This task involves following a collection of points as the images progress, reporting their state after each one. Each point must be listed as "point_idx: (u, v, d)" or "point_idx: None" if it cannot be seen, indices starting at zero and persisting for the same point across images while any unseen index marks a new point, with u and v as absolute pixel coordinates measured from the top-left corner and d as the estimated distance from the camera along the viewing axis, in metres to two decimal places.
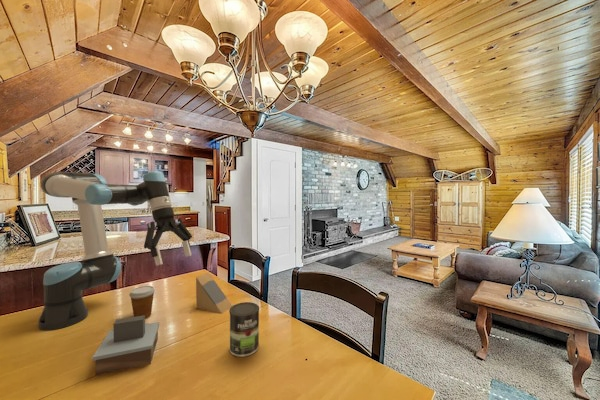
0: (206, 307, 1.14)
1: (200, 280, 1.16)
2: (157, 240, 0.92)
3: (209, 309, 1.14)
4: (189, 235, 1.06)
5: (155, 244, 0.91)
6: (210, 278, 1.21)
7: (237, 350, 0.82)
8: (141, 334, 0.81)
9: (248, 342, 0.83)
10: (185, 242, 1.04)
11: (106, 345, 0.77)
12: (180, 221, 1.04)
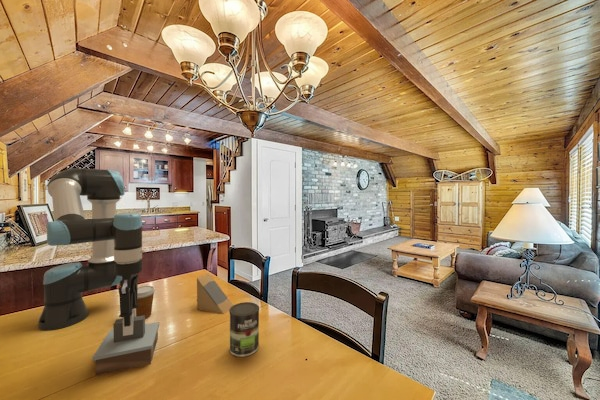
0: (207, 308, 1.13)
1: (201, 281, 1.15)
2: (131, 305, 0.79)
3: (210, 310, 1.13)
4: (136, 299, 0.85)
5: (131, 311, 0.79)
6: (210, 279, 1.20)
7: (237, 350, 0.82)
8: (141, 334, 0.81)
9: (248, 342, 0.83)
10: (133, 311, 0.82)
11: (106, 345, 0.77)
12: (137, 278, 0.86)
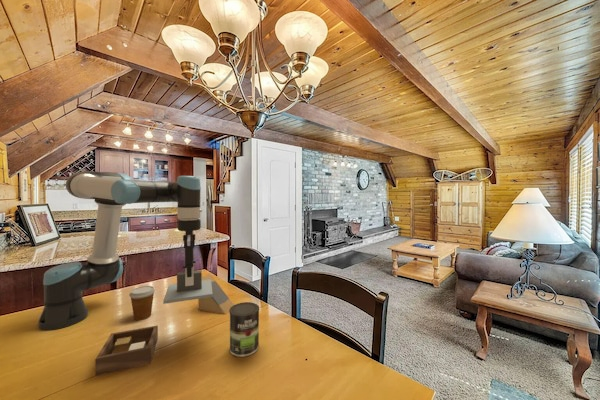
0: (209, 308, 1.13)
1: None
2: None
3: (212, 310, 1.12)
4: None
5: None
6: (211, 279, 1.20)
7: (237, 350, 0.82)
8: (200, 286, 0.89)
9: (248, 342, 0.83)
10: None
11: (171, 293, 0.85)
12: None
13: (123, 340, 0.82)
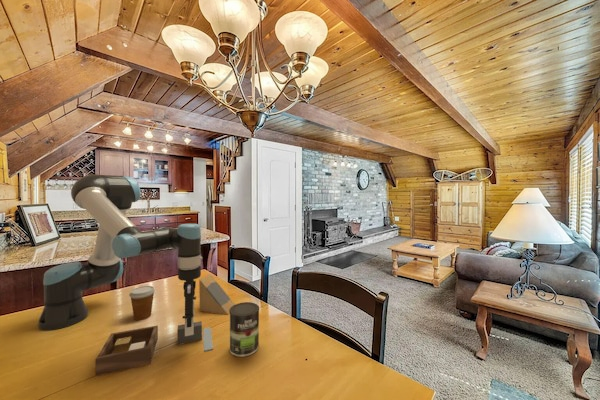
0: (211, 309, 1.12)
1: (204, 282, 1.14)
2: None
3: (214, 311, 1.12)
4: None
5: None
6: (212, 280, 1.19)
7: (237, 350, 0.82)
8: (200, 338, 0.90)
9: (248, 342, 0.83)
10: None
11: None
12: None
13: (123, 340, 0.82)
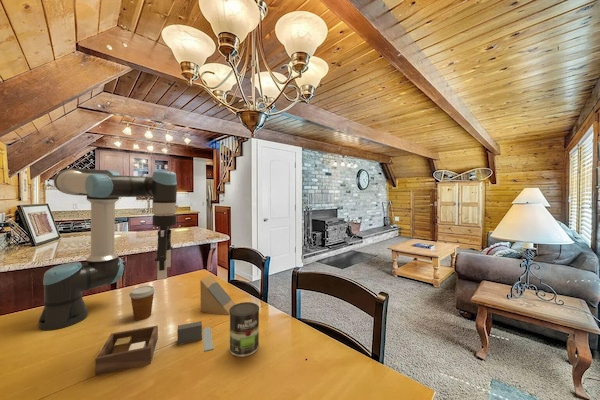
0: (212, 310, 1.11)
1: (205, 283, 1.13)
2: (166, 252, 0.84)
3: (216, 312, 1.11)
4: (170, 244, 0.97)
5: None
6: (213, 280, 1.18)
7: (237, 350, 0.82)
8: (200, 338, 0.90)
9: (248, 342, 0.83)
10: (168, 252, 0.95)
11: None
12: (169, 228, 0.95)
13: (123, 340, 0.82)
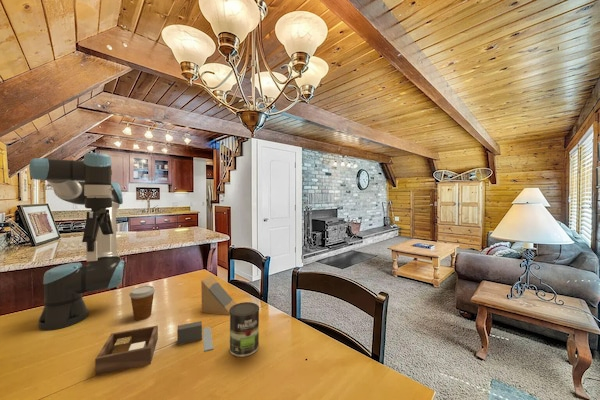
0: (213, 310, 1.11)
1: (206, 283, 1.12)
2: (96, 233, 0.83)
3: (217, 312, 1.11)
4: (111, 229, 0.97)
5: (95, 238, 0.82)
6: (214, 281, 1.18)
7: (237, 350, 0.82)
8: (200, 338, 0.90)
9: (248, 342, 0.83)
10: (107, 236, 0.94)
11: None
12: (108, 212, 0.94)
13: (123, 340, 0.82)
